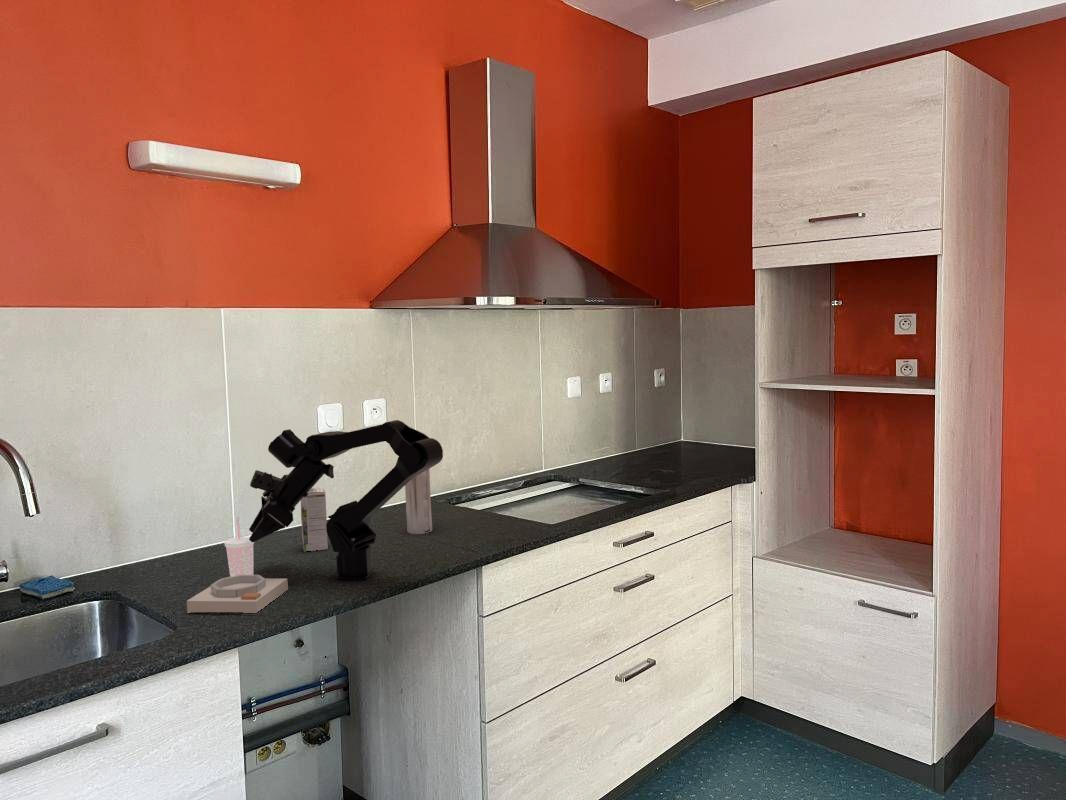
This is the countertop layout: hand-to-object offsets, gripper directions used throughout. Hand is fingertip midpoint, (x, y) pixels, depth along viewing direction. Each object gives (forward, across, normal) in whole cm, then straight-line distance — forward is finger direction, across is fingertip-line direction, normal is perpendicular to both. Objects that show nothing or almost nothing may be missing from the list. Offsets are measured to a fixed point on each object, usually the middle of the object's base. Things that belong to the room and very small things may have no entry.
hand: (250, 535), depth 176 cm
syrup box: (-3, -20, +17) cm, 27 cm away
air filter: (-22, -25, +36) cm, 49 cm away
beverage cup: (+9, 0, +5) cm, 10 cm away
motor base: (+9, +15, +5) cm, 18 cm away
